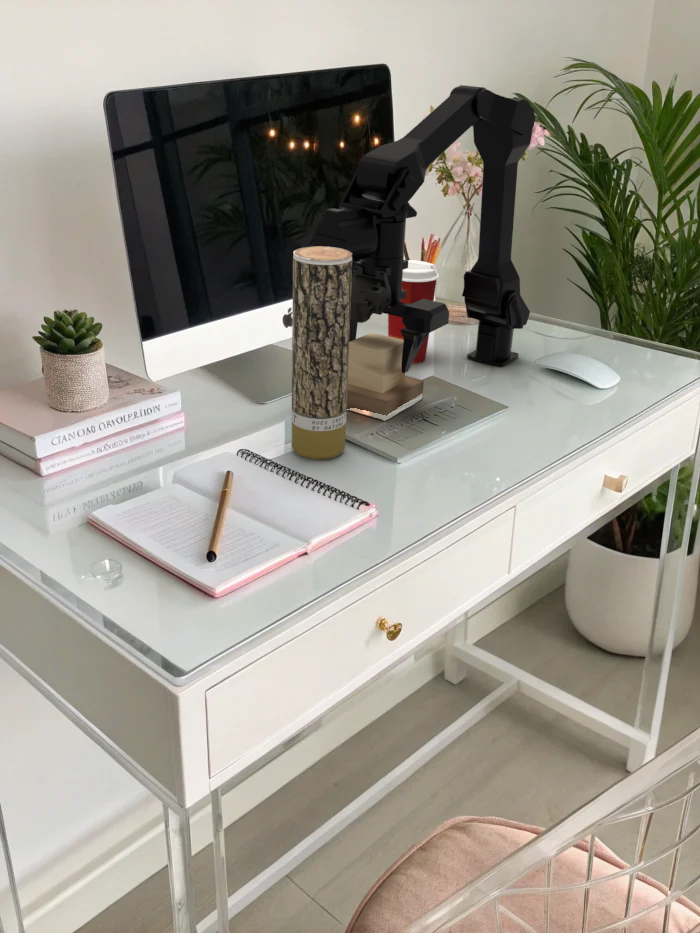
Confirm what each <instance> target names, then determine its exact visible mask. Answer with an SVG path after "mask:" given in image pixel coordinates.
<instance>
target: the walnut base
mask: <svg viewBox="0 0 700 933" xmlns="http://www.w3.org/2000/svg"><path fill="white" fill-rule="evenodd" d="M424 383H425V381H424V379H421V378H420V379H419V378H415V377H412V376H409V375H405V381H404V382H403V383H401V384H399V385H397V386H395V387H393V388H392V389H390V390H388V391H386V392H384V393H383V394H382V393H378V392H375V391H371V390H368V389H364V388H361V387H357V386H353V385H350V384H348V386H347V409H350V408H357V409H360V410H366V411H370V412H373V413H378V414H382V415H386V416H387V415H388V414H389V413H391V412H392V411H394V410H396V409H397V408H398V407H400V406H402V405H403V404H405V403H407V402H409V401H410V400H412V399H414V398H416V397H417V396H419V395H420V394H422V393H423V394H424Z"/></svg>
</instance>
